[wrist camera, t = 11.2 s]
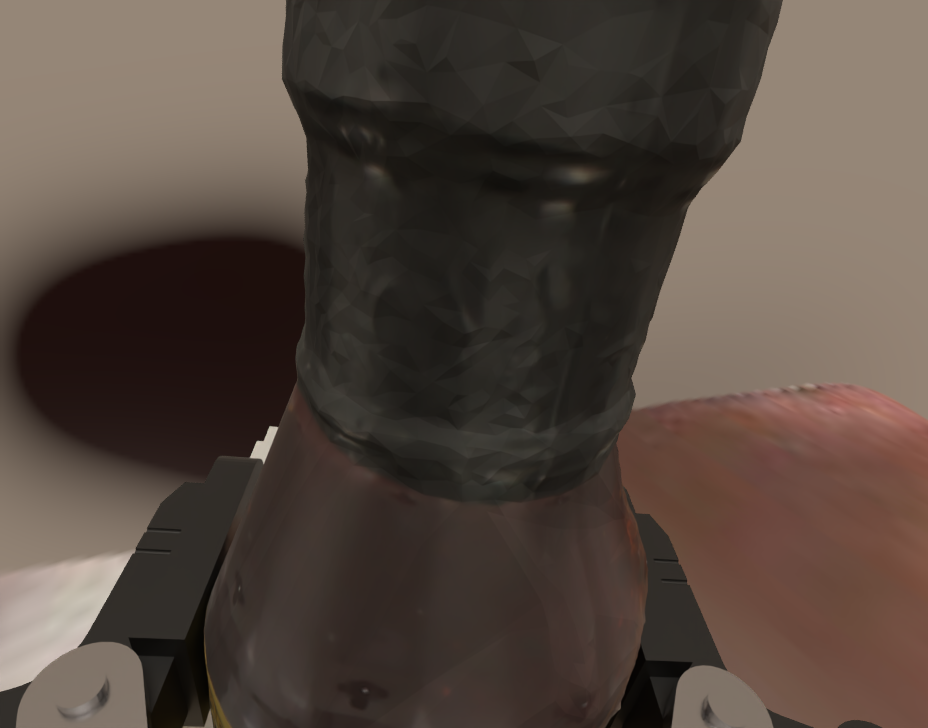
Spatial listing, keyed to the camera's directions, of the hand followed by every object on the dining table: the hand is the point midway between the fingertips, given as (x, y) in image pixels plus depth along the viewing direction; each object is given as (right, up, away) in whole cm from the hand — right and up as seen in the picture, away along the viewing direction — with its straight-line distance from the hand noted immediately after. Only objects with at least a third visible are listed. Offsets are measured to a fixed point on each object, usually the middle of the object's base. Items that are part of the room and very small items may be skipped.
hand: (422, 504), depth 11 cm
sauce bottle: (-1, -11, +3) cm, 12 cm away
